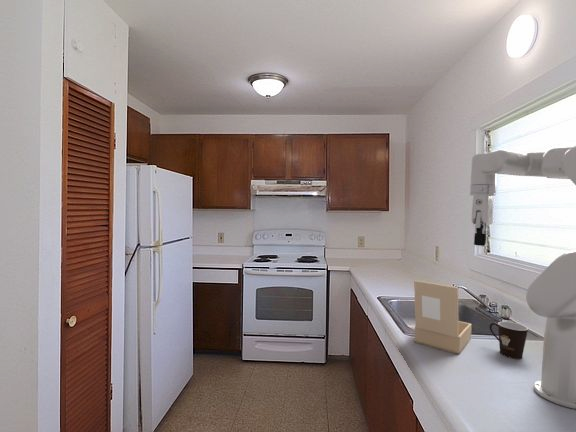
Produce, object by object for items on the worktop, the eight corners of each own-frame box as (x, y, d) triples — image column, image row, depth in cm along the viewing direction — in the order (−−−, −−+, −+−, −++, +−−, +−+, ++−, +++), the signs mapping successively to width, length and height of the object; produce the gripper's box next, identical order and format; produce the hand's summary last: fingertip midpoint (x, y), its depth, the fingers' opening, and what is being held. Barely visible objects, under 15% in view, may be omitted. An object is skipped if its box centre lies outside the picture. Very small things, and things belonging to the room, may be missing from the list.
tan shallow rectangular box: (470, 339, 131) (471, 323, 131) (459, 354, 117) (459, 337, 117) (429, 329, 140) (430, 314, 140) (414, 342, 126) (415, 325, 126)
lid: (458, 287, 113) (457, 288, 113) (458, 336, 117) (457, 338, 116) (414, 280, 122) (414, 281, 121) (416, 326, 126) (415, 327, 125)
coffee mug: (532, 361, 114) (534, 331, 114) (505, 359, 114) (507, 329, 114) (510, 346, 126) (512, 319, 125) (486, 345, 126) (488, 318, 126)
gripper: (491, 189, 109) (488, 248, 109) (499, 192, 120) (496, 244, 121) (465, 189, 113) (462, 245, 114) (474, 191, 125) (472, 242, 126)
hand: (479, 245), depth 117 cm, fingers closed
